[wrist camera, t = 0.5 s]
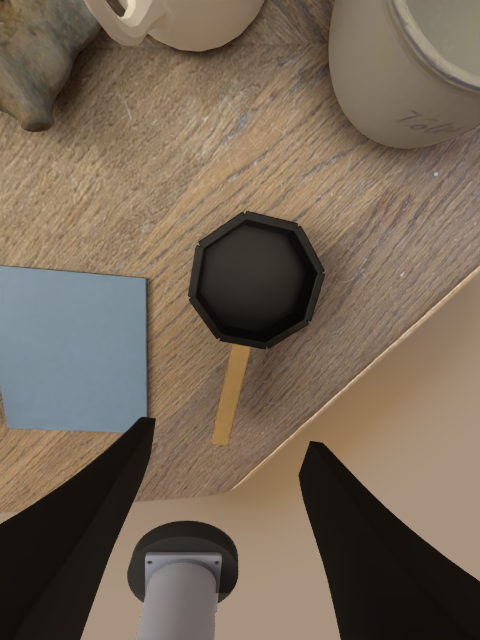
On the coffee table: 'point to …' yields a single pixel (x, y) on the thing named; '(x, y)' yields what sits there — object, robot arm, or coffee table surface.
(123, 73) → the coffee table surface
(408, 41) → the teacup
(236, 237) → the pan
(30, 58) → the ginger root
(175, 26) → the mug
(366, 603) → the robot arm
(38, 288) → the napkin
